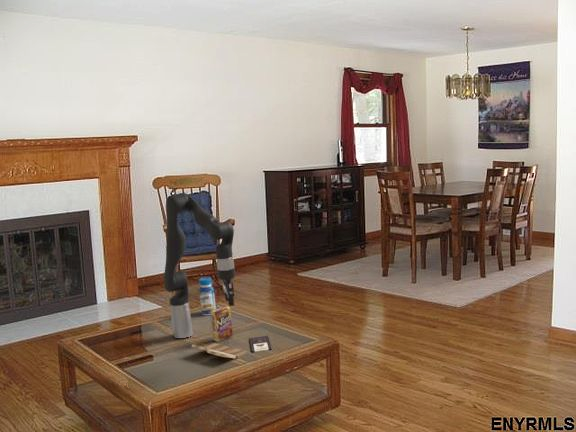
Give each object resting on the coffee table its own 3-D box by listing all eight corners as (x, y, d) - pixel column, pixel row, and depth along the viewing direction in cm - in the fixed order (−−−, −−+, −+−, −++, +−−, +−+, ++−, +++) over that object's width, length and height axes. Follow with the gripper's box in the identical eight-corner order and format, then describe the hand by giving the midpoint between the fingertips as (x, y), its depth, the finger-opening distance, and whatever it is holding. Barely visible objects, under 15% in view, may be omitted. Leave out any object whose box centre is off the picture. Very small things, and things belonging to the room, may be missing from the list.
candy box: (217, 342, 283) (213, 311, 281) (213, 340, 287) (209, 310, 284) (233, 337, 288) (230, 307, 286) (229, 335, 291) (226, 305, 289)
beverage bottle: (219, 312, 332) (215, 277, 329) (208, 316, 325) (204, 281, 323) (209, 310, 337) (205, 276, 334) (198, 314, 331) (194, 280, 328)
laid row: (204, 350, 274) (204, 347, 274) (214, 345, 279) (214, 343, 279) (237, 358, 260) (236, 356, 259) (247, 353, 264) (247, 351, 264)
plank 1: (191, 346, 268) (192, 344, 268) (204, 350, 273) (204, 347, 274) (206, 350, 261) (206, 347, 261) (218, 353, 267) (219, 351, 267)
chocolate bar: (267, 335, 284) (271, 348, 266) (268, 337, 284) (271, 350, 267) (249, 338, 283) (251, 351, 265) (249, 340, 283) (252, 353, 266)
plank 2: (207, 352, 260) (207, 349, 261) (220, 354, 266) (220, 351, 266) (222, 356, 254) (223, 353, 254) (235, 358, 260) (235, 355, 260)
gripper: (214, 265, 264) (218, 300, 267) (219, 272, 251) (224, 308, 253) (231, 263, 266) (235, 297, 269) (237, 269, 253) (241, 305, 255)
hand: (229, 303), depth 261 cm, fingers open, 8 cm apart
